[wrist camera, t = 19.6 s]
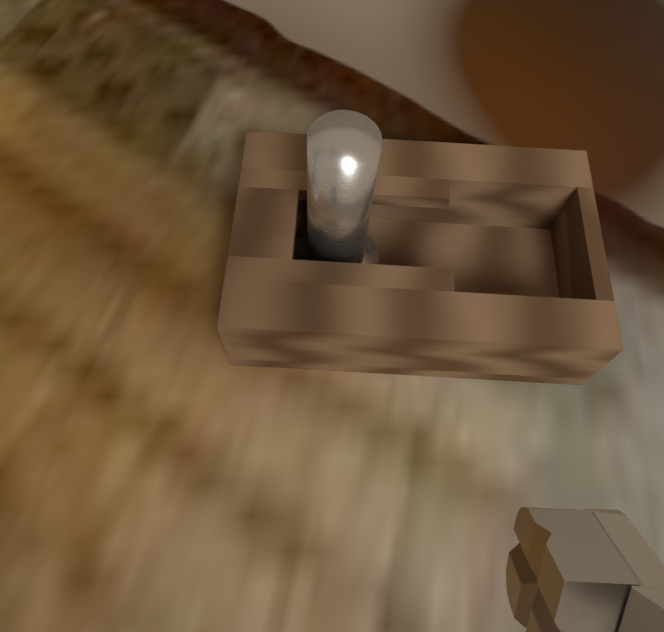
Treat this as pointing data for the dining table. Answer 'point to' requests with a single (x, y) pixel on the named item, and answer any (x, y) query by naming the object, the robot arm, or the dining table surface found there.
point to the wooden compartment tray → (426, 267)
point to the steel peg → (340, 189)
